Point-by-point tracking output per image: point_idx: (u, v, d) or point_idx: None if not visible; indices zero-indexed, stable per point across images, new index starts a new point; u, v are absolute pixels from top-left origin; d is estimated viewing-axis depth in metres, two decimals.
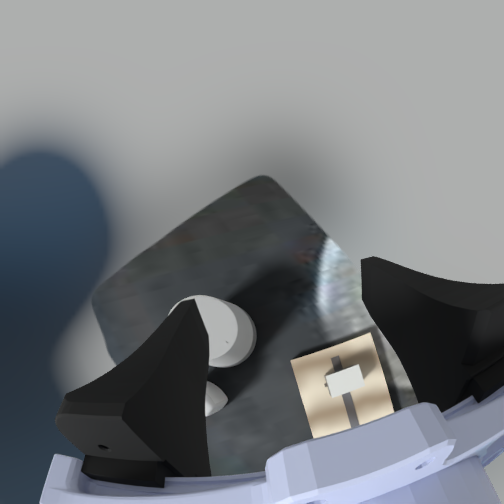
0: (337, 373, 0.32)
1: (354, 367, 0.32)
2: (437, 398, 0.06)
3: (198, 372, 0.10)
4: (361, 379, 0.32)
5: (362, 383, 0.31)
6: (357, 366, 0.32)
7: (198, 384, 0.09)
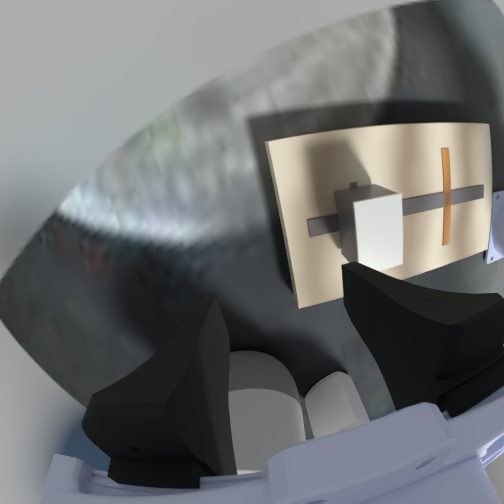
0: (361, 252, 0.15)
1: (358, 213, 0.14)
2: None
3: (222, 368, 0.10)
4: (387, 200, 0.14)
5: (395, 198, 0.14)
6: (358, 206, 0.14)
7: (222, 380, 0.09)
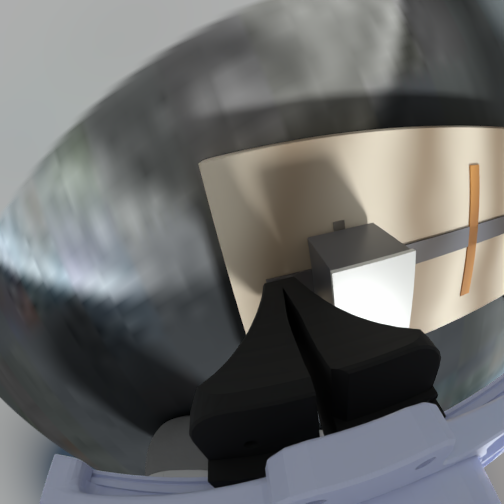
0: None
1: (339, 289, 0.09)
2: None
3: None
4: (391, 264, 0.08)
5: (405, 260, 0.08)
6: (339, 278, 0.08)
7: None
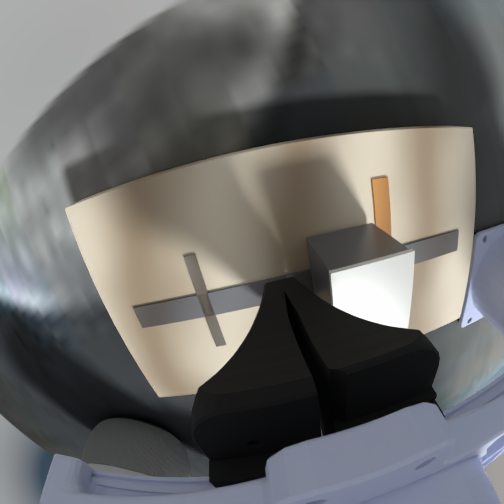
0: None
1: (337, 290, 0.09)
2: None
3: None
4: (390, 264, 0.08)
5: (404, 260, 0.08)
6: (338, 278, 0.08)
7: None
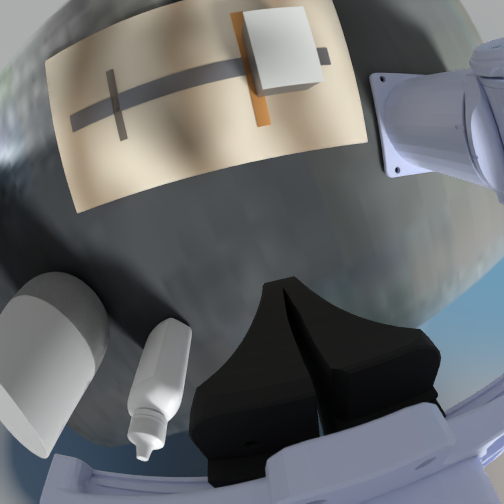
0: (259, 59, 0.11)
1: (249, 21, 0.10)
2: None
3: None
4: (285, 10, 0.10)
5: (296, 10, 0.10)
6: (248, 14, 0.10)
7: None
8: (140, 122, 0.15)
